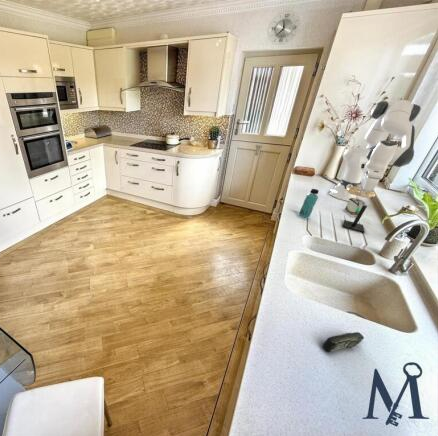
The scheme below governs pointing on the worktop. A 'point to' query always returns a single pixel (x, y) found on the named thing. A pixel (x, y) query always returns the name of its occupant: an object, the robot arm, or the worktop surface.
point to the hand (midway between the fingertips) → (361, 193)
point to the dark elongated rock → (342, 341)
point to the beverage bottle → (309, 203)
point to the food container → (354, 206)
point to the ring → (355, 192)
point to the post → (355, 222)
